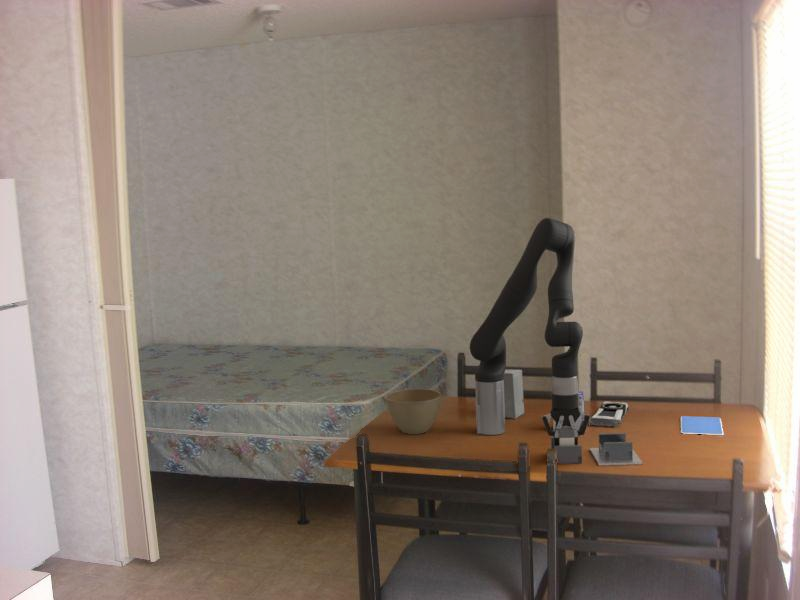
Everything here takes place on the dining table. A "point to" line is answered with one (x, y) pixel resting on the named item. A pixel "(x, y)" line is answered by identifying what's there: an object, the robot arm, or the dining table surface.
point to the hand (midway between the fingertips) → (566, 448)
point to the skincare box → (513, 393)
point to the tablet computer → (701, 425)
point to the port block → (615, 450)
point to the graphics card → (609, 414)
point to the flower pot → (414, 409)
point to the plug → (566, 436)
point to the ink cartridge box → (581, 409)
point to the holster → (568, 453)
